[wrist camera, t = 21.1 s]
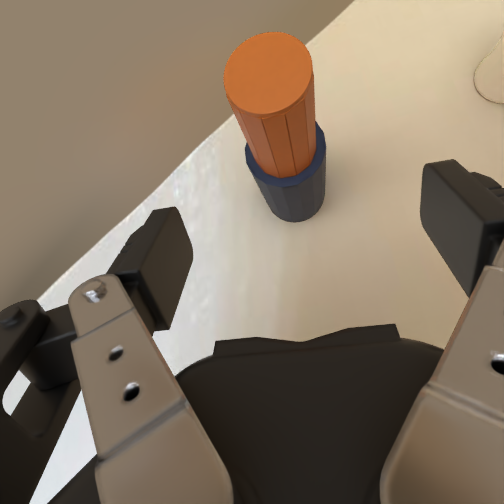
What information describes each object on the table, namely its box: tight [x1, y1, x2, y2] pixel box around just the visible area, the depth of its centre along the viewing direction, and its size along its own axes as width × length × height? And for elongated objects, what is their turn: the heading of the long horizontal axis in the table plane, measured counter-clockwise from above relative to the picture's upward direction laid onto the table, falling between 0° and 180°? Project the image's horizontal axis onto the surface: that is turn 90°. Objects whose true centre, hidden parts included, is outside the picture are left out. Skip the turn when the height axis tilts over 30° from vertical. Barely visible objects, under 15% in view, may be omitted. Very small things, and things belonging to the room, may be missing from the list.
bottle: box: [245, 121, 326, 222], centre depth 32 cm, size 7×7×16 cm
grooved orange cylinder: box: [224, 32, 316, 178], centre depth 24 cm, size 5×5×10 cm
